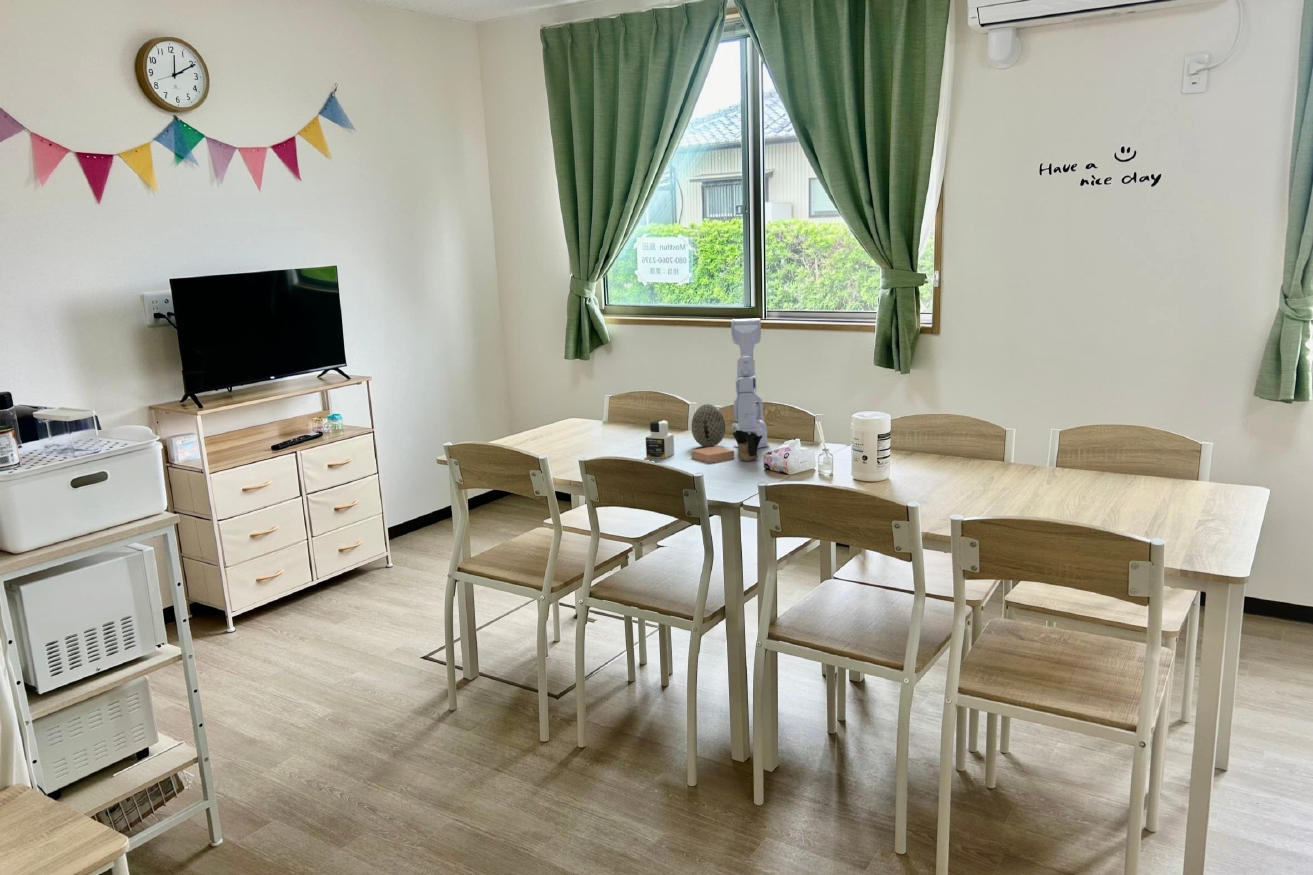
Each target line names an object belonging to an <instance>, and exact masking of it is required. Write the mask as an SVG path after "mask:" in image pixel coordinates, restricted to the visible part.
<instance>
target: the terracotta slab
mask: <svg viewBox="0 0 1313 875" xmlns="http://www.w3.org/2000/svg"><path fill="white" fill-rule="evenodd" d="M691 458H692V459H694V460H698V461H700V460H701V462H704V461H705V462H704V463H707V464H712V463H716V462H715V461H717V462H722V461H721V460H723V461H726V460H727V459H728V460H732V458H733V459H735V450H732V449H729V448H726V447H721V446H719V445H716V446H713V447H703V448H698V449H691Z"/></svg>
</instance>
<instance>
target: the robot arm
mask: <svg viewBox="0 0 1313 875" xmlns="http://www.w3.org/2000/svg"><path fill="white" fill-rule="evenodd" d="M761 321H762V320H761V319H760V318H759V317H756V318H740V319H737V318H736V319H735V318H732V320H731V321H730V322H731V329H730V330H731V338H732V341H733V344H736V345H738V347H739V349H740V350H739V351H740V357H739V358H738V359H737V362H736V363H737V364H736V367H737V368H736V378H735V392H736V397H735V398H734V401H733V403H734V404H733V418H734V421H735V423H731V430H732V431H734V432H732V436H733V437H734V439H735V441H736V443H737V444H733V447H735V448H738V443H744V442H748V447H749V455H750V456H755V455H756V453H757V448H758V449H759V448H764V447H765V446H766V447H769V446H770V445H769V444H768V427H767V424H766V422H765V421H764V420H763V419H764V411H763V410H764V406H763V398H762V397H761V396H760V395H759V394H757V388H758V387H757V377H756V361H755V359H754V350H755V346H756V345H757V344H759V343H760V342H761V338H762V337H761V335H762V328H761V327H762V326H761V324H762V323H761ZM736 422H737V423H736ZM766 447H765V448H766Z"/></svg>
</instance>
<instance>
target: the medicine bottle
mask: <svg viewBox="0 0 1313 875" xmlns="http://www.w3.org/2000/svg"><path fill="white" fill-rule="evenodd" d="M649 430H650V431H649V432H650V434H648V435H647V436H645V452H646V453H645V454H646V458H651V459H652V458H653V459H664V460H665V459H668V458H669V457H670V456H673V455H675V442H674V441H675V439H674V433H669V423H668V421H667V420H664V419H657V420H656V419H655V420H652V421H651V422H649Z"/></svg>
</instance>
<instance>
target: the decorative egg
mask: <svg viewBox="0 0 1313 875" xmlns="http://www.w3.org/2000/svg"><path fill="white" fill-rule="evenodd" d="M690 426H691V434H692V438H694V441H695V442H696V443H697V444H698V445H700V446H701V447H703V448H708V447H713V446H718V445H719V444H720V443H721V442H722V441H723V439H724V436H725V434H726V422H725V419H724V416H723V414H722V412H721V411H720V409H719V408H717V407H716V406H714V405H712V404H710V403H708V404H703V405H701V406H700V407H698V408H697V409H696V411H694V414H693V416H692V420H691V425H690Z"/></svg>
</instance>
